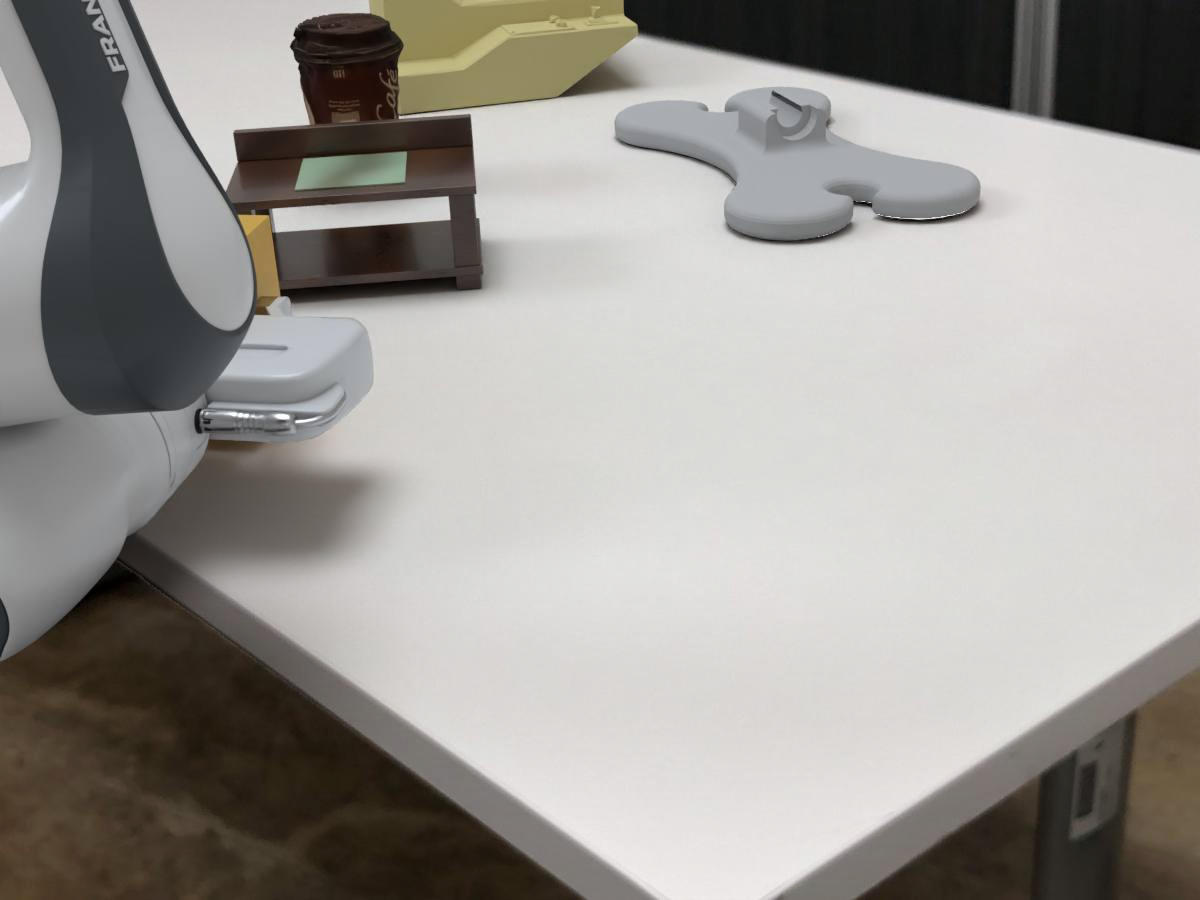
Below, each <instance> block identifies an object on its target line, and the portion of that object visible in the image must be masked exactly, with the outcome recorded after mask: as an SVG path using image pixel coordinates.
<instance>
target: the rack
mask: <svg viewBox="0 0 1200 900" xmlns="http://www.w3.org/2000/svg"><path fill="white" fill-rule="evenodd" d="M472 126H473V125H472V115H471V114H470V113H463V114H449V115H436V116H435V115H434V116H422V117H421V116H420V117H418V116H417V117H406V118H405V117H403V118H399V119H389V120H374V121H359V122H344V123H330V124H315V125H310V124H301V125H288V126H287V125H286V126H273V127H272V126H271V127H257V128H243V129H242V128H241V129H234V130H233V132H232V134H233V142H234V148H235V153H236V154H235V155H236V161H237V163H236V165H235V166H234V167H235V168H234V170H233V173H232V175H231V178H230V180H229V183H228V185H227V188H226V190H225V192H226V193H227V195H228V197H229V199H230V201H231V203H232V205H233V207H234V209H235V211H236V213H237V215H269V217H270V224H271V232H272V239H273V246H274V253H275V260H276V267H277V275H278V282H279V289H280V290H290V289H291V290H292V289H293V290H295V289H306V288H307V289H308V288H321V287H332V286H347V285H358V284H359V285H361V284H372V283H386V282H387V283H388V282H401V281H414V280H426V279H427V280H428V279H429V280H430V279H440V278H453V277H454V278H455V283H456V290H457V291H458V290H473V289H482V276H481V275H484V263H483V262H484V261H483V249H482V235H481V233H482V232H481V222H480V218H479V217H477V208H476V197H475V195H477V194H478V193H477V192H478V191H477V179H476V178H477V177H476V165H475V164H476V163H475V148H474V136H473V127H472ZM442 197H443V198H444V197H448V208H449V217H450V219H444V220H443V219H442V220H429V221H417V222H416V221H415V222H414V221H413V222H402V223H401V222H399V223H390V224H389V223H386V224H376V225H375V224H374V225H373V224H372V225H359V226H347V227H345V226H343V227H332V228H317V229H304V230H290V231H276V226H275V218H274V212H273V210H275V209H287V208H302V207H315V206H332V205H346V204H359V203H373V202H386V201H401V200H414V199H415V200H416V199H428V198H442Z"/></svg>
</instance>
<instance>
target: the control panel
mask: <svg viewBox="0 0 1200 900" xmlns="http://www.w3.org/2000/svg"><path fill="white" fill-rule="evenodd" d="M624 2H625V1H624V0H368V5H369V6H368V7H369V13H371V14H373V15H377V16H380V17H382V18H383V19H385V20H387V21H389V22H390V27H391V30H392V31H394V32H395V33H396V34H397V35H398V36H399V38H400V39H401V40H402V42H403V44H404V47H403V50H402V52H401V54H400V56H399V59H398V84H399V89H400V90H399V95H398V114H399V115H407V114H415V113H423V112H433V111H442V110H444V111H445V110H451V109H461V108H471V107H478V106H479V107H480V106H489V105H497V104H507V103H514V102H523V101H532V100H543V99H551V98H552V99H553V98H558V97H559V96H560V95H562V94H563V93H565V92H566V91H568V90H569V89H570V88H572V87H573V86H574V85H575V84H577V83H578V82H579V81H580V80H581V79H583V78H584V77H586V76H587V75H588V74H589V73H591V72H592V71H594V69H595V68H597V67H599V66H600V65H601V64H602V63H605V61H606V60H608V59H610V57H612V56H613V55H614V54H616V53H617V52H618V51H620V50H621V49H622V48H623V47H626V45H627V44H629V43H630V42H631V41H632V40H634V39H635V38H637V37H638V36H639V27H638V24H637V23H636V22H635V21H633V20H631V19H630V18H628V17H627V16H625V10H624V9H625V6H624V4H625V3H624Z"/></svg>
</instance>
